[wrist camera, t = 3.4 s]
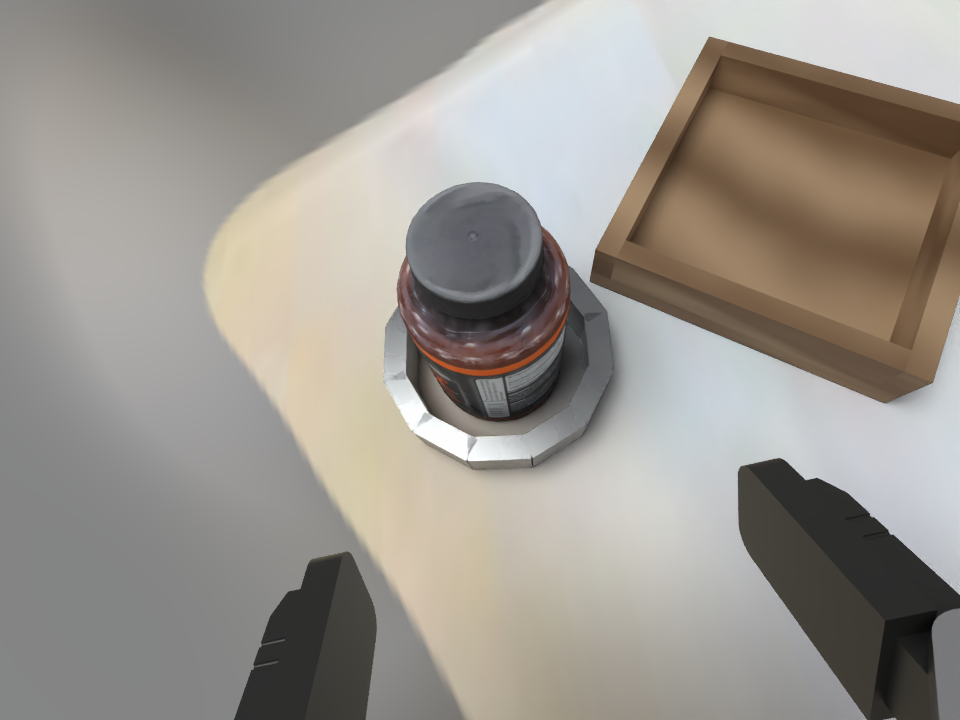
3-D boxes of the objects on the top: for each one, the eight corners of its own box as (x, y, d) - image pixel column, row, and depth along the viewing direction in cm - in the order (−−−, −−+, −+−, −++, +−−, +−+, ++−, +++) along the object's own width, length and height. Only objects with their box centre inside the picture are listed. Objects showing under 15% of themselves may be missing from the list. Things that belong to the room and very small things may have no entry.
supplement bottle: (418, 344, 26) (338, 206, 16) (522, 289, 27) (512, 118, 16) (473, 448, 24) (423, 369, 14) (584, 387, 25) (620, 265, 14)
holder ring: (460, 246, 28) (453, 218, 26) (637, 321, 25) (647, 298, 23) (360, 408, 25) (342, 394, 23) (546, 509, 23) (547, 505, 21)
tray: (693, 84, 30) (709, 36, 27) (962, 164, 26) (1013, 118, 24) (589, 281, 26) (595, 249, 24) (884, 403, 23) (932, 382, 20)
